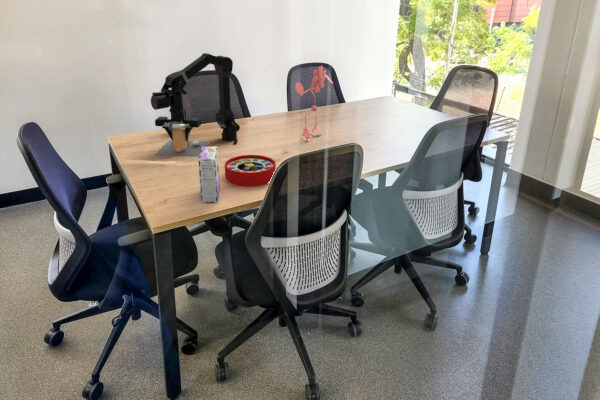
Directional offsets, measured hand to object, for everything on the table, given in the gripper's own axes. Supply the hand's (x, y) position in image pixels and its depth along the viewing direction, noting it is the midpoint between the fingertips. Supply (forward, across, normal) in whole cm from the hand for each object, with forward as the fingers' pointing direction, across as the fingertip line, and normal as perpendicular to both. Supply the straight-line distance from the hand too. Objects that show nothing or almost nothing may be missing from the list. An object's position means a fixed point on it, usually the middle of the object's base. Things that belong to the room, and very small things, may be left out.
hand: (180, 141), depth 210 cm
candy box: (+6, -23, +41) cm, 47 cm away
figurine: (+7, -59, -29) cm, 66 cm away
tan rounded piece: (+3, 0, 0) cm, 3 cm away
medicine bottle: (+6, +8, -24) cm, 26 cm away
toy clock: (+7, -34, +22) cm, 41 cm away
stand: (+6, 0, -4) cm, 8 cm away
